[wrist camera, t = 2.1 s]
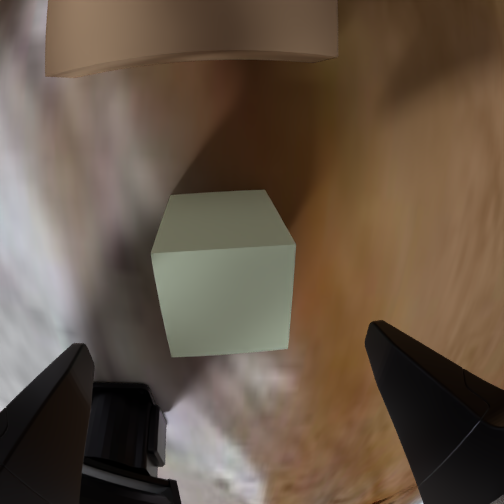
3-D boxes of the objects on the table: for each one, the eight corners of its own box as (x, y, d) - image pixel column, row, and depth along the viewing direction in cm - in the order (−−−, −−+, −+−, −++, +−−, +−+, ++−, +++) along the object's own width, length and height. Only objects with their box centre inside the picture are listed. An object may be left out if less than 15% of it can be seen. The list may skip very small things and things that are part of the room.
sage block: (180, 276, 17) (171, 357, 12) (170, 194, 15) (150, 253, 10) (263, 270, 17) (287, 348, 12) (264, 189, 15) (296, 244, 10)
